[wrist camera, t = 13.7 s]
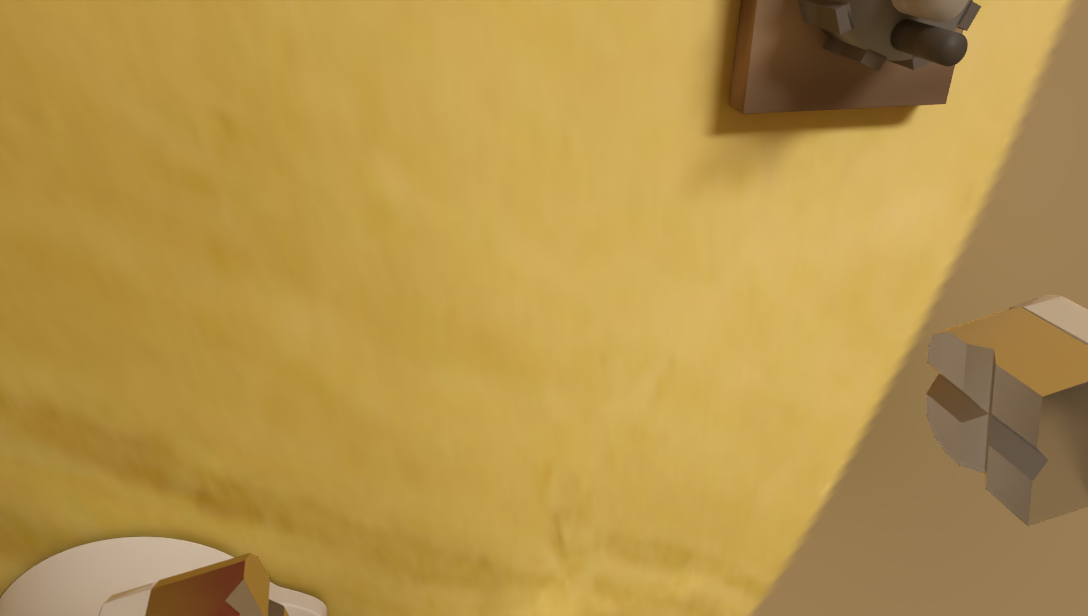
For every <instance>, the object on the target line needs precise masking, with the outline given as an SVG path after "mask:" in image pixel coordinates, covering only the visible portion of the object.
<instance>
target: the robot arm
mask: <svg viewBox="0 0 1088 616" xmlns="http://www.w3.org/2000/svg"><path fill="white" fill-rule="evenodd" d="M928 364H929V365H930V366H931V367H932V368H933V369H934V370H935V371H936V372H937V373H938V376H937V377H936V379H935V381H934V382H933V384H932V385H931V387H930V389H929V390H928V392H927V418H928V420H929V423H930V426H931V428H932V431H933V434H934V437H935V438H936V440H937V441H938V443H939V444H940V445H941V447H942V448H943V450H944V451H945V452H946V453H947V454H948V455H949V456H950V457H951V458H952V459H953V460H954V461H955V462H956V463H957V464H959V465H960V466H963V467H967V468H970V469H973V470H976V471H980V472H983V473H984V475H985V486H986V489H987V490H988V491H989V492H990V493H991V494H992V495H993V496H994V497H995V498H997V499H998V500H999V501H1000V502H1001V503H1003V505H1005V506H1006V507H1007V508H1008V509H1009V510H1010V511H1011V512H1012V513H1014V514H1015V515H1016V516H1017V517H1018V518H1019V519H1020V520H1021V521H1023V522H1024V523H1025V524H1026V525H1027V526H1030V525H1033V524H1036V523H1039V522H1042V521H1045V520H1048V519H1051V518H1054V517H1057V516H1060V515H1063V514H1066V513H1069V512H1073V511H1076V510H1078V509H1082V508H1085V507H1088V310H1087V309H1085V308H1083V307H1081V306H1080V305H1078V304H1076V303H1074V302H1072V301H1070V300H1069V299H1067V298H1065V297H1063V296H1057V295H1050V294H1047V295H1044V296H1041V297H1038V298H1035V299H1032V300H1030V301H1027V302H1024V303H1021V304H1018V305H1016V306H1012V307H1010V308H1009V309H1008V310H1004V311H1001V312H998V313H995V314H992V315H989V316H986V317H983V318H980V319H977V320H974V321H970V322H967V323H965V324H962V325H958V326H956V327H952V328H949V329H946V330H943V331H940V332H937V333H934V335H933V337H932V339H931V341H930V343H929V345H928ZM0 616H327V607H326V605H325V604H324V603H323V602H322V601H321V600H319V599H317V598H315V597H313V596H310V595H307V594H304V593H301V592H298V591H294V590H291V589H287V588H283V587H279V586H277V585H275V584H273V583H271V582H270V577H269V575H268V573H267V572H266V570H265V568H264V566H263V564H262V563H261V561H260V559H259V557H258V556H256V555H254V554H251V553H249V554H245V555H242V556H239V557H235V558H234V557H232V556H230V555H228V554H226V553H224V552H221V551H219V550H216V549H214V548H211V547H207V546H204V545H201V544H197V543H193V542H189V541H184V540H178V539H171V538H161V537H126V538H116V539H108V540H102V541H97V542H93V543H88V544H85V545H81V546H77V547H74V548H71V549H68V550H66V551H63V552H61V553H58V554H56V555H54V556H52V557H50V558H48V559H46V560H44V561H42V562H40V563H39V564H37V565H35V566H34V567H32V568H31V569H29V570H28V571H27V572H25V573H24V574H23V575H21V576H20V577H19V578H18V579H17V580H16V581H15V582H13V584H12V585H11V586H10V587H9V588H8V589H7V590H6V591H5V593H4V594H3V595H2V596H1V598H0Z"/></svg>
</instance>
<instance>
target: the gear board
mask: <svg viewBox="0 0 1088 616" xmlns="http://www.w3.org/2000/svg"><path fill="white" fill-rule="evenodd" d="M972 1H973V0H741V8H740V16H739V25H738V34H737V42H736V51H735V59H734V68H733V77H732V85H731V94H730V103H729V105H730V106H731V107H733V108H734V109H736V110H738V111H739V112H741V113H743V114H751V113H771V112H792V111H812V110H832V109H852V108H873V107H893V106H913V105H933V104H946V100H947V96H948V92H949V87H950V83H951V79H952V75H953V70H954V66H955V64H957V63H958V62H960V61H961V60H962V58H963V57H964V55H965V53H966V51H967V39H966V37H965V36H964V35H963V34H962V33H963V30H966V31H967V30H968V28H969V26H970V25H971V23H972V21H973V20H974V18H975V16H976V14H977V13H978V11H979V9H980V8H981V6H980V5H978V4H976V3H974V2H972Z"/></svg>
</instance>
